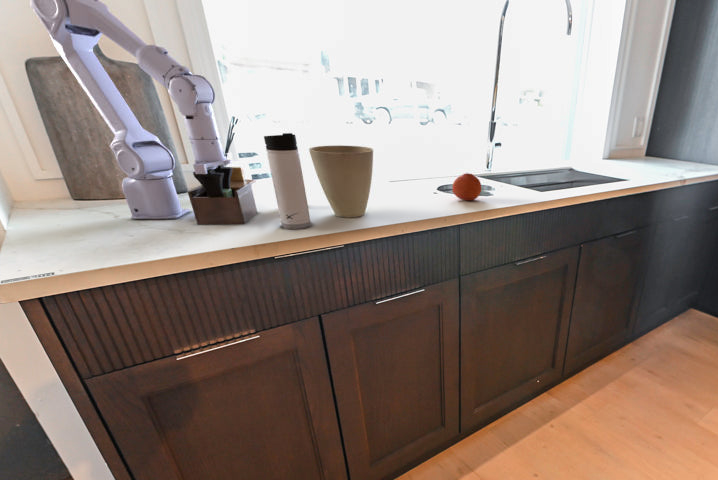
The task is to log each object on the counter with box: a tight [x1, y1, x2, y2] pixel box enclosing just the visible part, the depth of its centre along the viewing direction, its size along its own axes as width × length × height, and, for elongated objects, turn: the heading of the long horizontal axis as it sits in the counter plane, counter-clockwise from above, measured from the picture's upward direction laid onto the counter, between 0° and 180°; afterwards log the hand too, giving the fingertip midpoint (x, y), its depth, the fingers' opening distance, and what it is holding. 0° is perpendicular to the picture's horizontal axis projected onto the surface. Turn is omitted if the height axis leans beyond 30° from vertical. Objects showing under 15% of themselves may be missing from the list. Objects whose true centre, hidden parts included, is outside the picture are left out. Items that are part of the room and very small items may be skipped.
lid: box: [230, 166, 256, 190], centre depth 106 cm, size 8×11×4 cm
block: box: [207, 189, 233, 197], centre depth 100 cm, size 4×4×4 cm
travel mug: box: [263, 132, 312, 230], centre depth 95 cm, size 6×7×20 cm
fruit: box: [451, 172, 482, 201], centre depth 131 cm, size 9×9×8 cm
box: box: [187, 183, 258, 225], centre depth 102 cm, size 10×11×7 cm
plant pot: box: [308, 144, 374, 218], centre depth 108 cm, size 15×15×16 cm
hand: (221, 201), depth 100 cm, fingers closed on block, 4 cm apart
